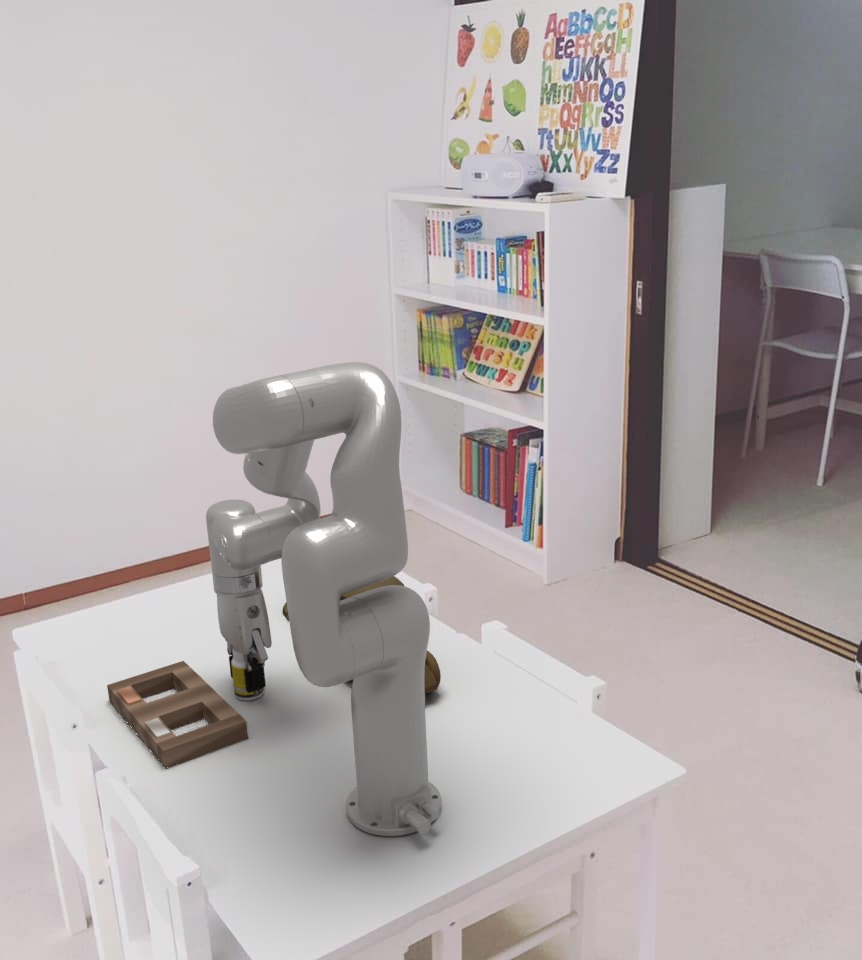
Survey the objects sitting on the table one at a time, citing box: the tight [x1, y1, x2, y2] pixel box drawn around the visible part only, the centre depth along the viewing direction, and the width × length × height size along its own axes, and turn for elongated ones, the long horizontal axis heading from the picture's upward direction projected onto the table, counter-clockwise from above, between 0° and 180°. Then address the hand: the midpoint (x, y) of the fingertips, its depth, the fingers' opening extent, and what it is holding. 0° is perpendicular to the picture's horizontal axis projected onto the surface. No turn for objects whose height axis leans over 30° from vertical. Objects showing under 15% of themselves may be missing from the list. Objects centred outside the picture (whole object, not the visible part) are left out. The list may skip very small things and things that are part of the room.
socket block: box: [106, 660, 249, 769], centre depth 168 cm, size 24×13×3 cm, turn 35°
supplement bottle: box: [231, 646, 265, 701], centre depth 173 cm, size 5×5×8 cm
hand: (248, 681), depth 174 cm, fingers closed on supplement bottle, 4 cm apart
